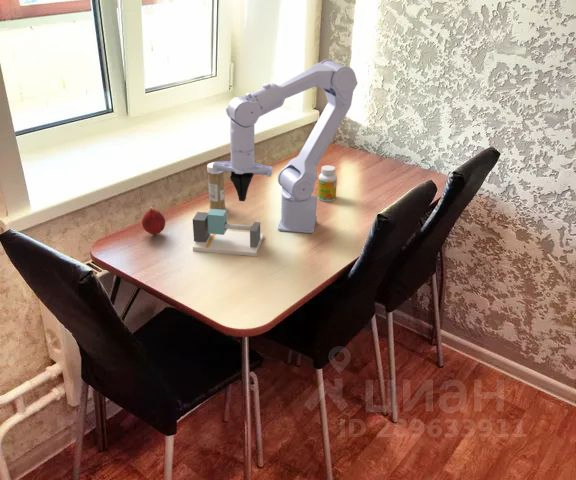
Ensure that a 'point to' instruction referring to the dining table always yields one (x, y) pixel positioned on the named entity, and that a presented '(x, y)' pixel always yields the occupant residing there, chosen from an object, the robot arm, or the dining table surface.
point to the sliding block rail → (226, 238)
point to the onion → (153, 221)
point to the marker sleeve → (217, 221)
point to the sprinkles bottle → (216, 188)
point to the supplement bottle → (327, 184)
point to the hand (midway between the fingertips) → (242, 199)
